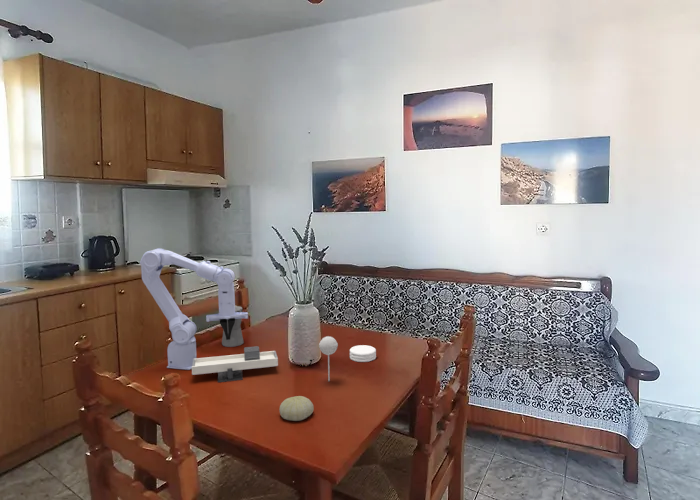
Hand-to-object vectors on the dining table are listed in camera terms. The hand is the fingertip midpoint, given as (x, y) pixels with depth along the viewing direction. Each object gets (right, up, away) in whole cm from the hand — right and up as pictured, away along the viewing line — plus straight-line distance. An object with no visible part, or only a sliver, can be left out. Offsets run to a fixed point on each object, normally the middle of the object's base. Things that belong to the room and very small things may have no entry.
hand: (228, 338), depth 160 cm
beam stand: (+3, -10, -9) cm, 14 cm away
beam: (+5, -8, -9) cm, 13 cm away
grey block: (+10, -6, -7) cm, 14 cm away
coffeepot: (-6, -7, +25) cm, 27 cm away
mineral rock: (+27, -9, +2) cm, 29 cm away
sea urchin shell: (+30, -14, -38) cm, 51 cm away
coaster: (+49, -9, +6) cm, 50 cm away
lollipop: (+38, -11, -16) cm, 42 cm away
